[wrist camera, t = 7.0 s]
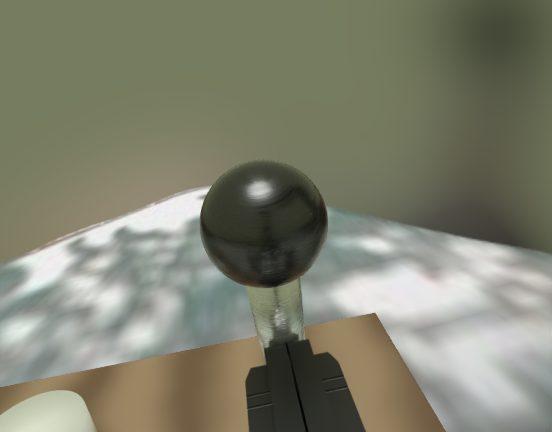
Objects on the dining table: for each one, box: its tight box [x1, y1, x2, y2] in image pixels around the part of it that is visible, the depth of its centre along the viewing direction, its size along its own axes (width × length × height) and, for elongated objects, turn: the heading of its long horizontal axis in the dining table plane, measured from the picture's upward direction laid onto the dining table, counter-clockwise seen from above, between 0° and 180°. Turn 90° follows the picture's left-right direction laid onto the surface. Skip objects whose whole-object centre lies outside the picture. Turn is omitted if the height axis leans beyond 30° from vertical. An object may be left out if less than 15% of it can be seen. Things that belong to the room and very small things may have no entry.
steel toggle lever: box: [200, 160, 328, 366], centre depth 14 cm, size 3×3×16 cm
